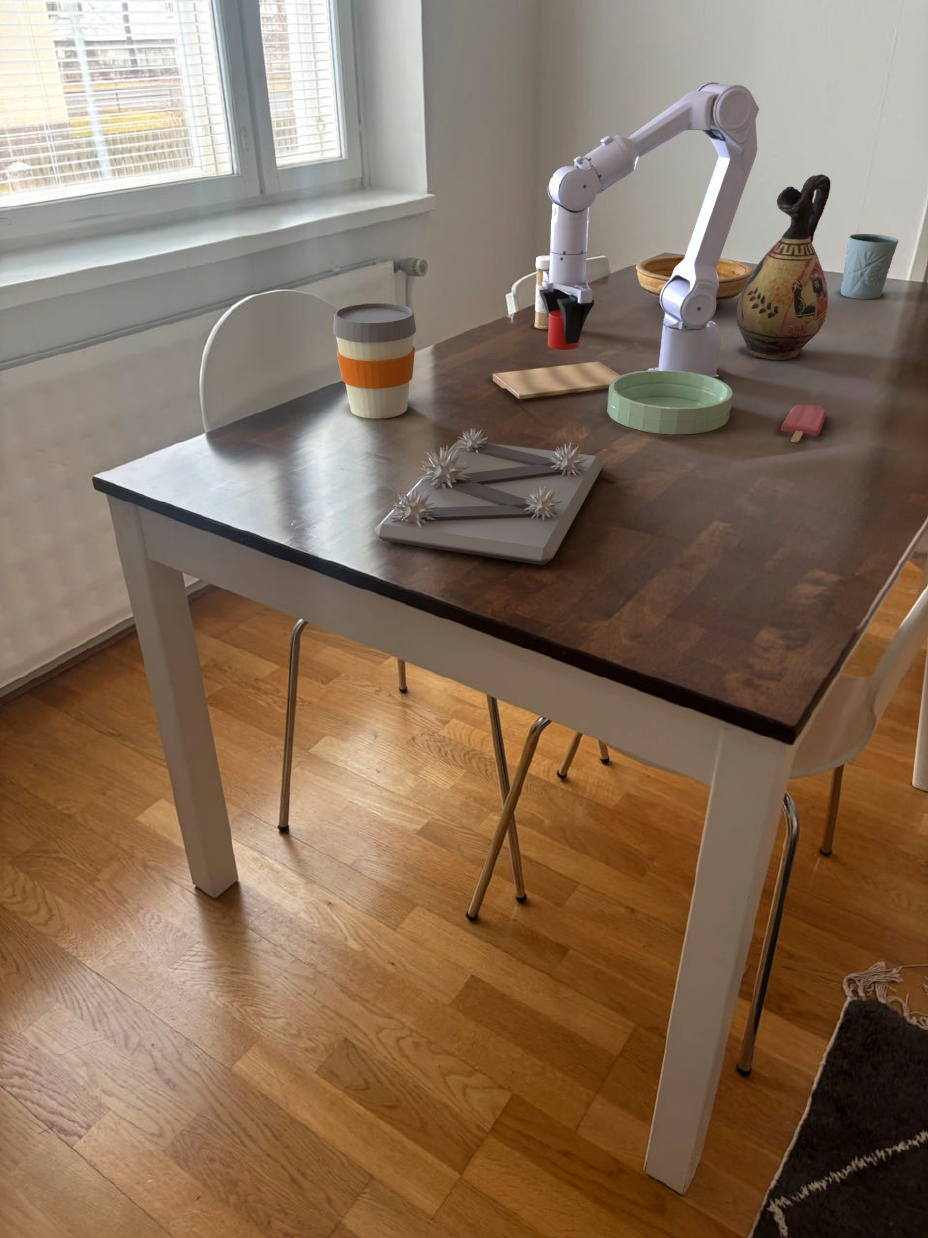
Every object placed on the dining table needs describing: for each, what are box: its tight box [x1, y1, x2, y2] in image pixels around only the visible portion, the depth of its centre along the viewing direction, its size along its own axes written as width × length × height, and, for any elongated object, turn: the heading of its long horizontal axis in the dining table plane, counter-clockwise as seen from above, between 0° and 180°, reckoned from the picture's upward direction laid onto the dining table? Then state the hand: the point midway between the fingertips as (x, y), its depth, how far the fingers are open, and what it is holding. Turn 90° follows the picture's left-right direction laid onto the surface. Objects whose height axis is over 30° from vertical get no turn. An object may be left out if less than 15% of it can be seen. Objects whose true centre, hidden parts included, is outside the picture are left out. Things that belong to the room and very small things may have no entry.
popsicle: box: [780, 404, 827, 444], centre depth 142 cm, size 5×2×15 cm
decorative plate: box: [373, 429, 605, 566], centre depth 119 cm, size 30×22×7 cm
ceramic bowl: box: [635, 255, 754, 305], centre depth 204 cm, size 30×24×8 cm
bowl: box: [606, 369, 734, 436], centre depth 146 cm, size 18×18×4 cm
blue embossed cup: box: [840, 233, 899, 300], centre depth 210 cm, size 10×10×12 cm
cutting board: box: [492, 361, 622, 400], centre depth 161 cm, size 20×12×1 cm, turn 109°
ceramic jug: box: [736, 173, 832, 361], centre depth 168 cm, size 17×15×30 cm
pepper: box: [547, 310, 581, 351], centre depth 156 cm, size 5×5×7 cm
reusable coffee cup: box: [332, 302, 417, 420], centre depth 147 cm, size 13×13×15 cm
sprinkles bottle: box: [534, 255, 550, 331], centre depth 188 cm, size 5×5×13 cm
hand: (564, 338), depth 157 cm, fingers closed on pepper, 5 cm apart
